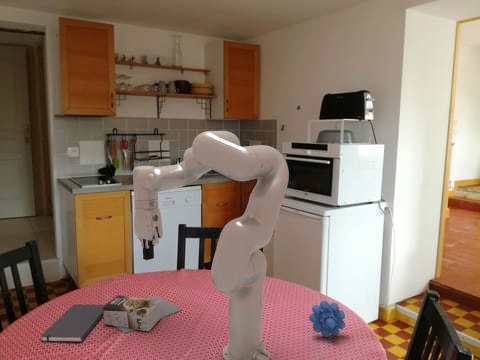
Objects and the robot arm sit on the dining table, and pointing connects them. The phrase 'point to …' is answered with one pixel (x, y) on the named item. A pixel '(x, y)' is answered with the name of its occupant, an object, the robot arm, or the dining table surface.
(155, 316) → the coffee box
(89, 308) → the notebook
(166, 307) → the mat
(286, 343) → the dining table surface
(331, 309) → the grapes
